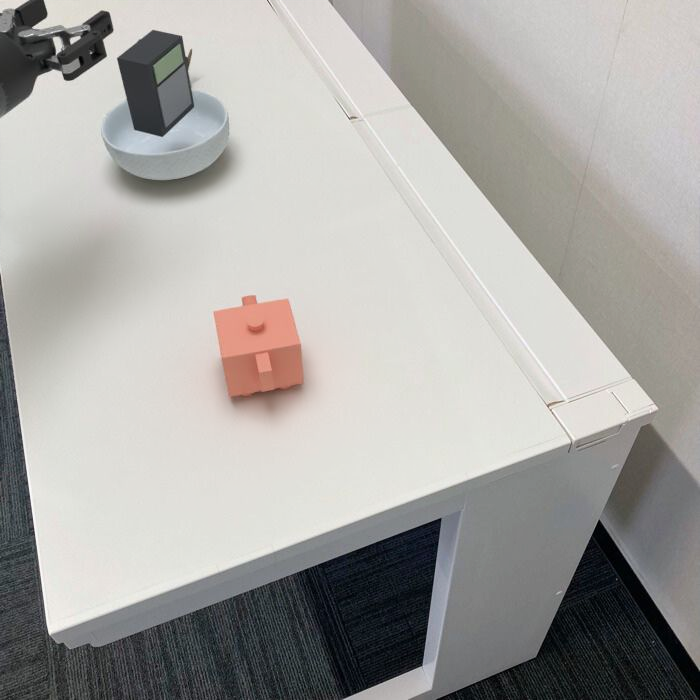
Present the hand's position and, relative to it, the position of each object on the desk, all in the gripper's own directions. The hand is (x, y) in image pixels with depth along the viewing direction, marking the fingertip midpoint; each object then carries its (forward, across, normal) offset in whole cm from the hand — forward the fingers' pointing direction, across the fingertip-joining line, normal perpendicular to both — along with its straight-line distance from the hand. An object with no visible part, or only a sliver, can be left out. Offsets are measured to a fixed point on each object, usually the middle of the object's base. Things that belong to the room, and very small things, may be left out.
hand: (75, 12), depth 82 cm
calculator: (+11, 0, +19) cm, 22 cm away
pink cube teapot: (-18, -29, +26) cm, 43 cm away
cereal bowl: (+11, 0, +26) cm, 28 cm away
